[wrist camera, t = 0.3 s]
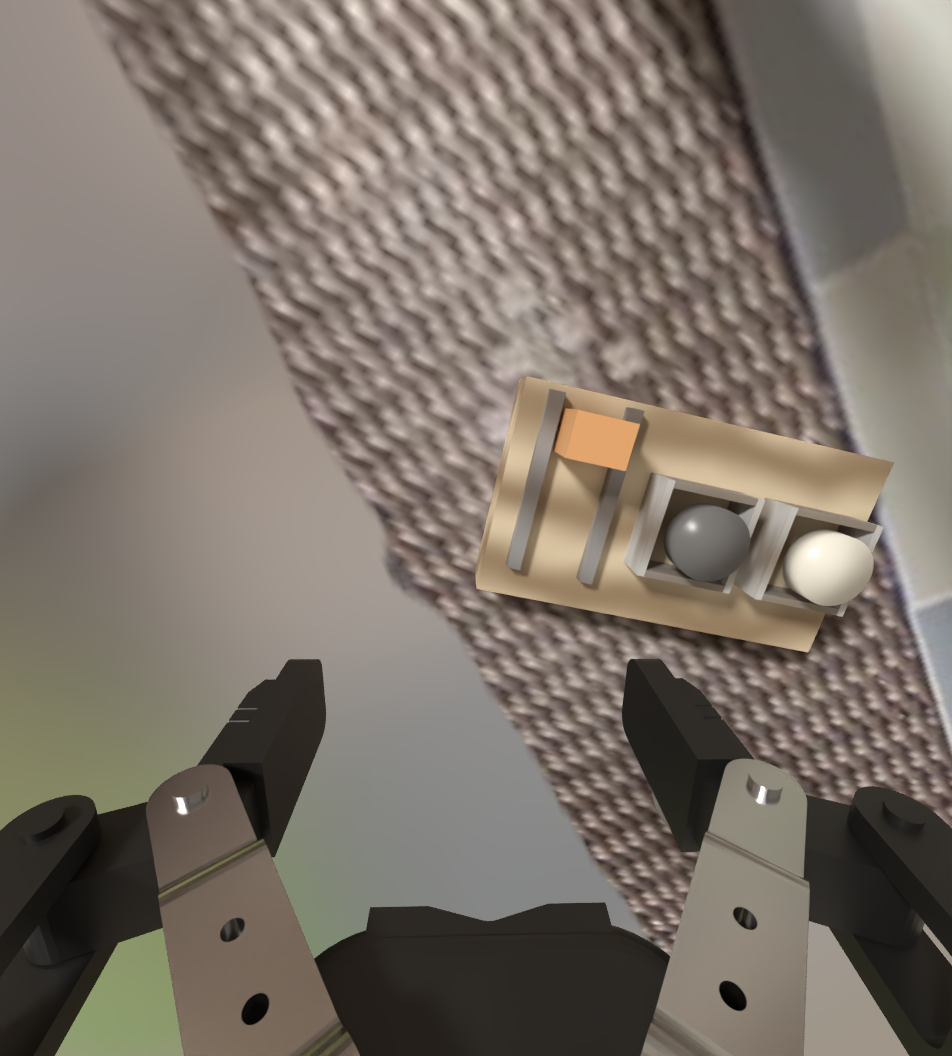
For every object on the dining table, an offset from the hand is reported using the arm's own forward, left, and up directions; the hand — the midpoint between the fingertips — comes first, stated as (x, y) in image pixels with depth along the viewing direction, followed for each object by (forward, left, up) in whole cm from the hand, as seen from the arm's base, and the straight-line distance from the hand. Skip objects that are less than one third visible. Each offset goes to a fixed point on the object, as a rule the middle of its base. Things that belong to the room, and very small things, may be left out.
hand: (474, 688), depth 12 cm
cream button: (-1, +25, -20) cm, 32 cm away
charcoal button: (-1, +16, -20) cm, 26 cm away
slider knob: (-6, +7, -23) cm, 25 cm away
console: (-1, +16, -27) cm, 32 cm away
